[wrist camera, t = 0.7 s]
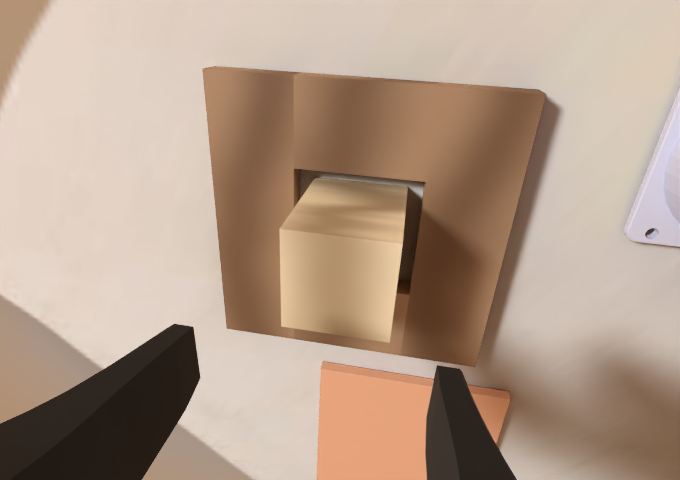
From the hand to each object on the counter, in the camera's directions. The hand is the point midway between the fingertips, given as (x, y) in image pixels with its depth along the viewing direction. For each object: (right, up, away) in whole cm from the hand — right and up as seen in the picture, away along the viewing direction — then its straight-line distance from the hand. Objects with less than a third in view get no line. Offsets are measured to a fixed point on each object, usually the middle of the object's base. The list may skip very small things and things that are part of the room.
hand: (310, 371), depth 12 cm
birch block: (+2, +5, +9) cm, 10 cm away
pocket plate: (+2, +5, +9) cm, 10 cm away
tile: (+5, -9, +15) cm, 19 cm away
